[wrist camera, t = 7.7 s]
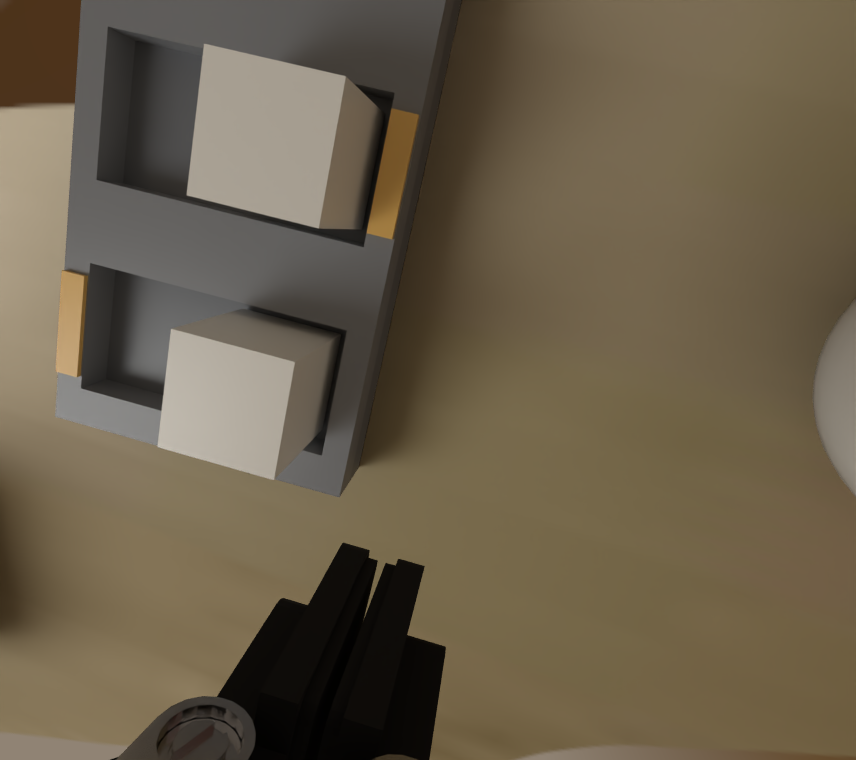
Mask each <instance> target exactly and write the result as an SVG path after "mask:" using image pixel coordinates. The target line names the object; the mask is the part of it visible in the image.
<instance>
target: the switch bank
mask: <svg viewBox="0 0 856 760" xmlns="http://www.w3.org/2000/svg"><path fill="white" fill-rule="evenodd" d="M81 1H82V2H81V16H80V31H79V32H80V33H79V47H78V65H77V79H76V95H75V111H74V127H73V143H72V159H71V175H70V191H69V207H68V222H67V238H66V254H65V270H62V275H61V292H60V308H59V324H58V340H57V357H56V372H58V382H57V398H56V413H55V417H58V418H62V419H65V420H69V421H72V422H76V423H79V424H83V425H86V426H90V427H93V428H97V429H100V430H104V431H108V432H111V433H115V434H118V435H122V436H125V437H129V438H132V439H136V440H139V441H143V442H146V443H150V444H153V445H157V446H158V437H159V428H160V420H161V411H162V403H163V394H164V385H165V377H166V368H167V359H168V351H169V342H170V333H171V329H172V328H175V327H179V326H182V325H186V324H190V323H193V322H197V321H200V320H204V319H207V318H211V317H214V316H218V315H221V314H225V313H228V312H232V311H236V310H239V309H247V310H251V311H255V312H259V313H262V314H266V315H270V316H274V317H277V318H281V319H285V320H289V321H293V322H296V323H300V324H304V325H308V326H312V327H315V328H319V329H323V330H327V331H331V332H334V333H338V334H341V337H340V342H339V347H338V352H337V357H336V363H335V368H334V373H333V378H332V383H331V388H330V393H329V398H328V403H327V408H326V413H325V418H324V423H323V428H322V430H321V431H320V432H319V433H318V434H317V435H316V436H315V438H314V439H313V440H312V441H311V442H310V443H309V444H308V445H307V446H306V447H305V448H304V449H303V450H302V451H301V452H300V453H299V454H298V455H297V456H296V457H295V458H294V460H293V461H292V462H291V463H290V464H289V465H288V466H287V467H286V468H285V469H284V470H283V471H282V472H281V473H280V474H279V475H278V476H277V477H276V478H275V479H276V480H280V481H283V482H287V483H290V484H294V485H297V486H301V487H304V488H308V489H311V490H315V491H319V492H322V493H326V494H329V495H333V496H336V497H340V496H341V494H342V492H343V491H344V489H345V488H346V486H347V485H348V483H349V482H350V480H351V478H352V477H353V475H354V474H355V472H356V471H357V469H358V468H359V463H360V459H361V454H362V450H363V445H364V441H365V436H366V432H367V427H368V423H369V418H370V414H371V409H372V404H373V400H374V395H375V391H376V386H377V382H378V377H379V373H380V368H381V364H382V359H383V355H384V350H385V346H386V341H387V337H388V332H389V328H390V323H391V318H392V314H393V309H394V305H395V300H396V296H397V291H398V287H399V282H400V278H401V273H402V269H403V264H404V260H405V255H406V251H407V246H408V241H409V237H410V232H411V228H412V223H413V219H414V214H415V210H416V205H417V201H418V196H419V192H420V187H421V183H422V178H423V174H424V169H425V165H426V160H427V155H428V151H429V146H430V142H431V137H432V133H433V128H434V124H435V119H436V115H437V110H438V106H439V101H440V97H441V92H442V88H443V83H444V79H445V74H446V69H447V65H448V60H449V56H450V51H451V47H452V42H453V38H454V33H455V29H456V24H457V20H458V15H459V11H460V6H461V2H462V0H81ZM204 44H208V45H212V46H217V47H221V48H225V49H230V50H234V51H238V52H243V53H247V54H251V55H256V56H260V57H264V58H269V59H273V60H277V61H282V62H286V63H290V64H295V65H299V66H303V67H308V68H312V69H316V70H321V71H325V72H329V73H334V74H338V75H342V76H346V77H347V78H348V79H349V80H350V81H351V82H352V83H353V84H354V85H355V86H357V87H358V88H359V89H360V90H361V91H362V92H363V93H364V94H365V95H366V96H367V97H368V98H369V99H370V100H371V101H372V102H373V103H374V104H375V105H376V106H377V107H378V108H379V109H380V110H382V111H383V112H384V113H385V115H384V120H383V125H382V131H381V136H380V141H379V146H378V151H377V156H376V161H375V166H374V171H373V176H372V181H371V186H370V191H369V196H368V201H367V206H366V211H365V216H364V221H363V226H362V230H360V229H319V228H315V227H311V226H307V225H303V224H299V223H295V222H291V221H287V220H283V219H279V218H275V217H271V216H267V215H263V214H259V213H255V212H251V211H247V210H243V209H239V208H235V207H231V206H227V205H223V204H219V203H215V202H211V201H207V200H203V199H199V198H195V197H191V196H187V187H188V178H189V170H190V161H191V152H192V144H193V135H194V126H195V118H196V109H197V100H198V92H199V83H200V75H201V66H202V57H203V49H204Z"/></svg>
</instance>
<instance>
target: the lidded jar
mask: <svg viewBox="0 0 856 760" xmlns="http://www.w3.org/2000/svg"><path fill="white" fill-rule="evenodd" d="M812 398H813V407H814V416H815V421H816V426H817V430H818V433H819V436H820V439H821V443H822V446H823V448H824V450H825V452H826V454H827V455H828V457H829V459H830V461H831V463H832V465H833V466H834V468H835V470H836V471H837V473H838V475H839V476H840V478H841V479H842V480H843V482H844V483H845V484H846V486H847V487H848V488H849V489H850V491H851V492H852V493H853V494H854V496H855V497H856V298H855V299H854V300H853V302H852V303H851V304H850V305H849V306H848V308H847V309H846V310H845V311H844V312H843V314H842V315H841V316H840V317H839V319H838V320H837V322H836V324H835V325H834V327H833V328H832V330H831V332H830V333H829V335H828V337H827V339H826V341H825V344H824V346H823V348H822V351H821V353H820V355H819V358H818V362H817V366H816V371H815V375H814V382H813V397H812Z"/></svg>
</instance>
